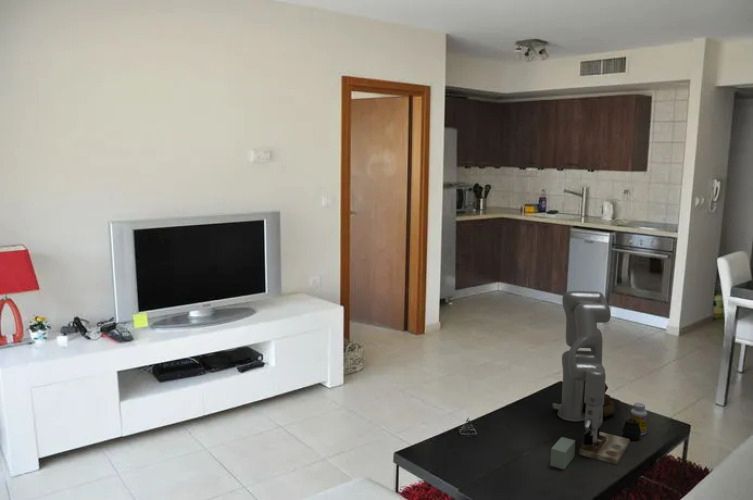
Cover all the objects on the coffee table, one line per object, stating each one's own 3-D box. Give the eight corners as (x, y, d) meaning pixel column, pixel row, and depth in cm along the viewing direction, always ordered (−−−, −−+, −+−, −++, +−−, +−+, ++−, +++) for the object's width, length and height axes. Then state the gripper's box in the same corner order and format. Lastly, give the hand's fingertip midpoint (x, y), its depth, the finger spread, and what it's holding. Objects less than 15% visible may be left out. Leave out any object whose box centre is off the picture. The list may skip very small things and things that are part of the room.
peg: (584, 448, 250) (585, 427, 248) (587, 444, 253) (588, 424, 252) (594, 451, 247) (596, 429, 246) (597, 447, 251) (598, 426, 249)
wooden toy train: (566, 408, 295) (567, 375, 293) (580, 402, 302) (582, 370, 299) (602, 422, 279) (604, 387, 277) (617, 416, 286) (619, 382, 283)
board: (578, 454, 249) (579, 445, 248) (594, 434, 267) (594, 426, 266) (616, 464, 240) (617, 455, 240) (629, 443, 258) (630, 435, 258)
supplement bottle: (641, 437, 264) (643, 409, 262) (626, 432, 269) (628, 404, 267) (648, 432, 269) (650, 404, 267) (633, 427, 274) (635, 400, 272)
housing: (550, 465, 240) (551, 448, 239) (560, 453, 250) (561, 436, 249) (564, 469, 237) (565, 452, 236) (574, 456, 247) (575, 440, 246)
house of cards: (478, 428, 273) (478, 412, 272) (480, 437, 264) (481, 420, 263) (458, 427, 273) (458, 411, 272) (459, 436, 265) (460, 419, 264)
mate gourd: (625, 441, 261) (627, 419, 259) (619, 433, 268) (620, 411, 266) (642, 441, 260) (644, 419, 259) (635, 433, 268) (637, 412, 266)
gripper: (597, 408, 238) (595, 450, 240) (609, 394, 252) (606, 434, 255) (578, 404, 242) (576, 444, 245) (590, 390, 256) (588, 429, 259)
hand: (591, 439), depth 250 cm, fingers open, 9 cm apart
